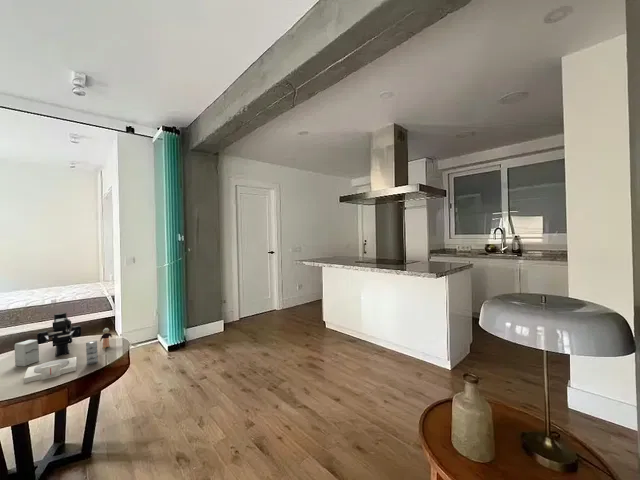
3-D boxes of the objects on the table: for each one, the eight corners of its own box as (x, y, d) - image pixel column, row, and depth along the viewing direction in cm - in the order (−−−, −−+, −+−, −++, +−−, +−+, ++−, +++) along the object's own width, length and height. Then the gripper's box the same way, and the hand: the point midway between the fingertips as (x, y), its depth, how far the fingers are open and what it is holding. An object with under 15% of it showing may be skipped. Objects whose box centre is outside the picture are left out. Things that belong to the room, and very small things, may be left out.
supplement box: (24, 366, 162) (23, 344, 162) (14, 365, 163) (13, 343, 163) (39, 361, 169) (39, 339, 169) (30, 360, 170) (29, 339, 170)
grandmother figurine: (103, 349, 184) (103, 330, 184) (98, 349, 185) (98, 329, 185) (114, 345, 192) (113, 326, 192) (109, 344, 192) (108, 326, 192)
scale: (28, 371, 155) (27, 361, 155) (76, 360, 168) (76, 350, 168) (23, 384, 141) (22, 372, 141) (76, 371, 154) (75, 360, 154)
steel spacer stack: (86, 362, 165) (85, 342, 165) (97, 360, 168) (96, 340, 168) (86, 365, 161) (86, 344, 161) (98, 363, 164) (97, 342, 164)
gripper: (38, 321, 165) (35, 327, 153) (80, 314, 177) (80, 320, 165) (39, 340, 165) (36, 348, 153) (81, 332, 177) (81, 339, 165)
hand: (59, 338), depth 159 cm, fingers open, 9 cm apart
